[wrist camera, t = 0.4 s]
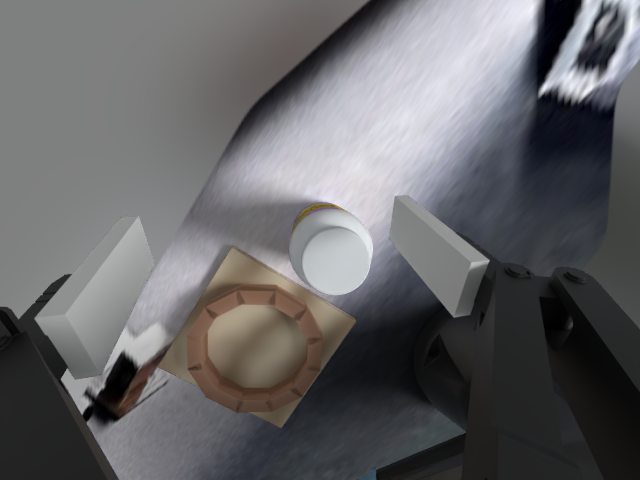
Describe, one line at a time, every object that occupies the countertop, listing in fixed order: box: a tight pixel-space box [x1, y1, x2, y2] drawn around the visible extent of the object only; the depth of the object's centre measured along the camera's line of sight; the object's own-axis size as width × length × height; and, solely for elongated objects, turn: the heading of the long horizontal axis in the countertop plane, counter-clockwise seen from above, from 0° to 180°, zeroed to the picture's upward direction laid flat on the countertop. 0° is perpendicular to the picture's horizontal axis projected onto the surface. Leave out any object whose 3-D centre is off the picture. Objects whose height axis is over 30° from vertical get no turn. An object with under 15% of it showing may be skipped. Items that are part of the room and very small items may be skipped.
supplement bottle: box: [289, 203, 373, 295], centre depth 26 cm, size 7×7×13 cm
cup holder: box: [158, 246, 356, 428], centre depth 32 cm, size 16×16×3 cm
